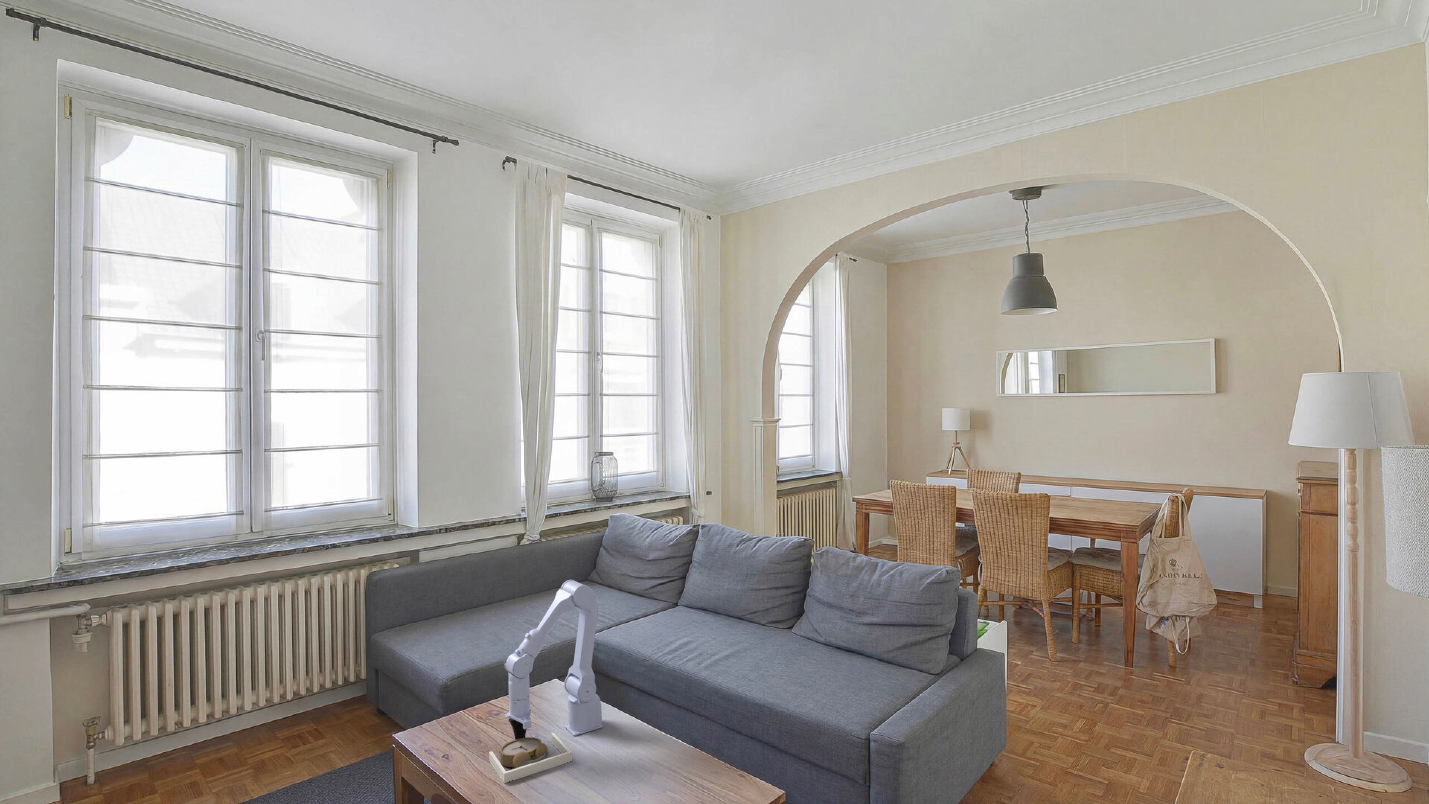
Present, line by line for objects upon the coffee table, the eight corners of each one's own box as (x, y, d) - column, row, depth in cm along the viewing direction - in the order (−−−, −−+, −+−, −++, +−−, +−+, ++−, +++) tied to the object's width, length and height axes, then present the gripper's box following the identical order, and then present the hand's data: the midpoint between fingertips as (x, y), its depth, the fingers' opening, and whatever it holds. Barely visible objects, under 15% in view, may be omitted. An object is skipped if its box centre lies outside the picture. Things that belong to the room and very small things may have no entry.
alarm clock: (527, 733, 201) (555, 741, 191) (529, 751, 201) (558, 759, 190) (491, 748, 193) (519, 757, 183) (493, 767, 193) (521, 776, 182)
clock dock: (554, 741, 202) (553, 732, 202) (572, 761, 191) (571, 752, 191) (489, 761, 192) (489, 752, 192) (504, 783, 180) (503, 773, 180)
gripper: (498, 690, 202) (499, 736, 203) (512, 709, 190) (513, 758, 190) (522, 684, 206) (523, 729, 206) (537, 703, 194) (539, 751, 194)
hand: (520, 743), depth 199 cm, fingers closed, pressing on alarm clock
